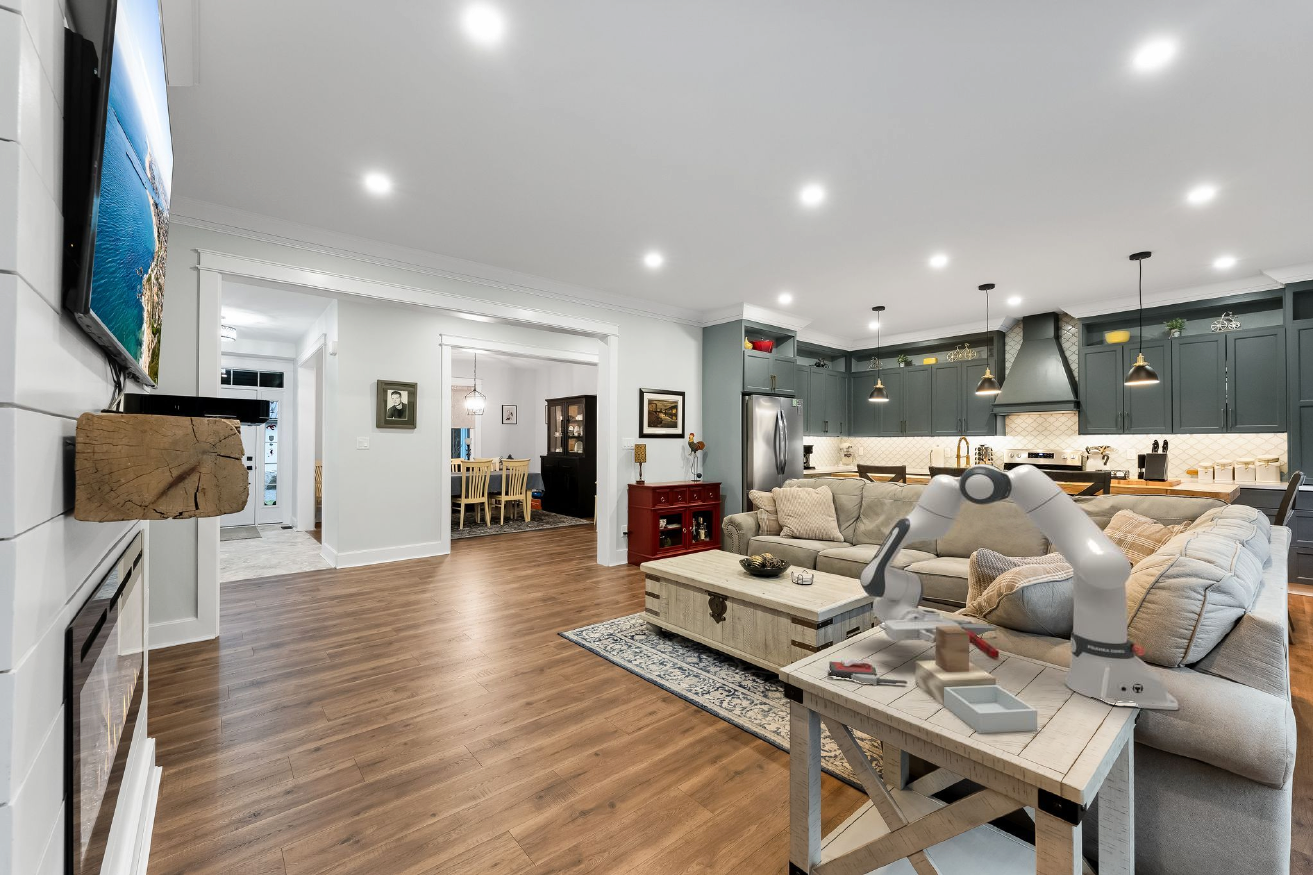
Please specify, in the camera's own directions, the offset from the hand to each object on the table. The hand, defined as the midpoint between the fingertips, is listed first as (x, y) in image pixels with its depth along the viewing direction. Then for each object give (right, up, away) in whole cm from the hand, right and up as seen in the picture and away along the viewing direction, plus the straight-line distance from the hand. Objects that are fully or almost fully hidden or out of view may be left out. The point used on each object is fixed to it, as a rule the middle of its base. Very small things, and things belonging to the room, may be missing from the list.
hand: (937, 639), depth 154 cm
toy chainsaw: (-19, -11, +1) cm, 22 cm away
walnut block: (+1, -5, -6) cm, 8 cm away
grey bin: (+2, -11, -20) cm, 23 cm away
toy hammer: (+23, -11, +30) cm, 39 cm away
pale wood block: (+1, -11, -7) cm, 13 cm away
